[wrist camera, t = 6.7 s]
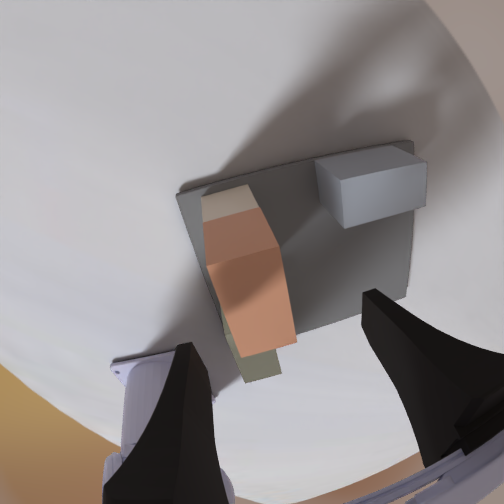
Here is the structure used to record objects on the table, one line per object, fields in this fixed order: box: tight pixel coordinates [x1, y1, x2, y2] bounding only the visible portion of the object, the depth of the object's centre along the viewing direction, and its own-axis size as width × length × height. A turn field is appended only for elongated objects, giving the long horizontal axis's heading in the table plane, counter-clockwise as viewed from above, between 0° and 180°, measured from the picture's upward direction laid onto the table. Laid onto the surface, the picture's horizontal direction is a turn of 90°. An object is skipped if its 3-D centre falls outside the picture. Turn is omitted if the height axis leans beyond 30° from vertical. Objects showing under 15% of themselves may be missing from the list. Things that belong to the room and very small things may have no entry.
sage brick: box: [220, 305, 282, 383], centre depth 24 cm, size 6×3×4 cm, turn 12°
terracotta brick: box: [203, 207, 297, 358], centre depth 16 cm, size 6×3×4 cm, turn 12°
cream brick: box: [201, 184, 259, 222], centre depth 19 cm, size 6×3×4 cm, turn 12°
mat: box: [176, 140, 414, 335], centre depth 24 cm, size 15×17×1 cm
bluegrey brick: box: [314, 145, 427, 229], centre depth 19 cm, size 6×3×4 cm, turn 102°
